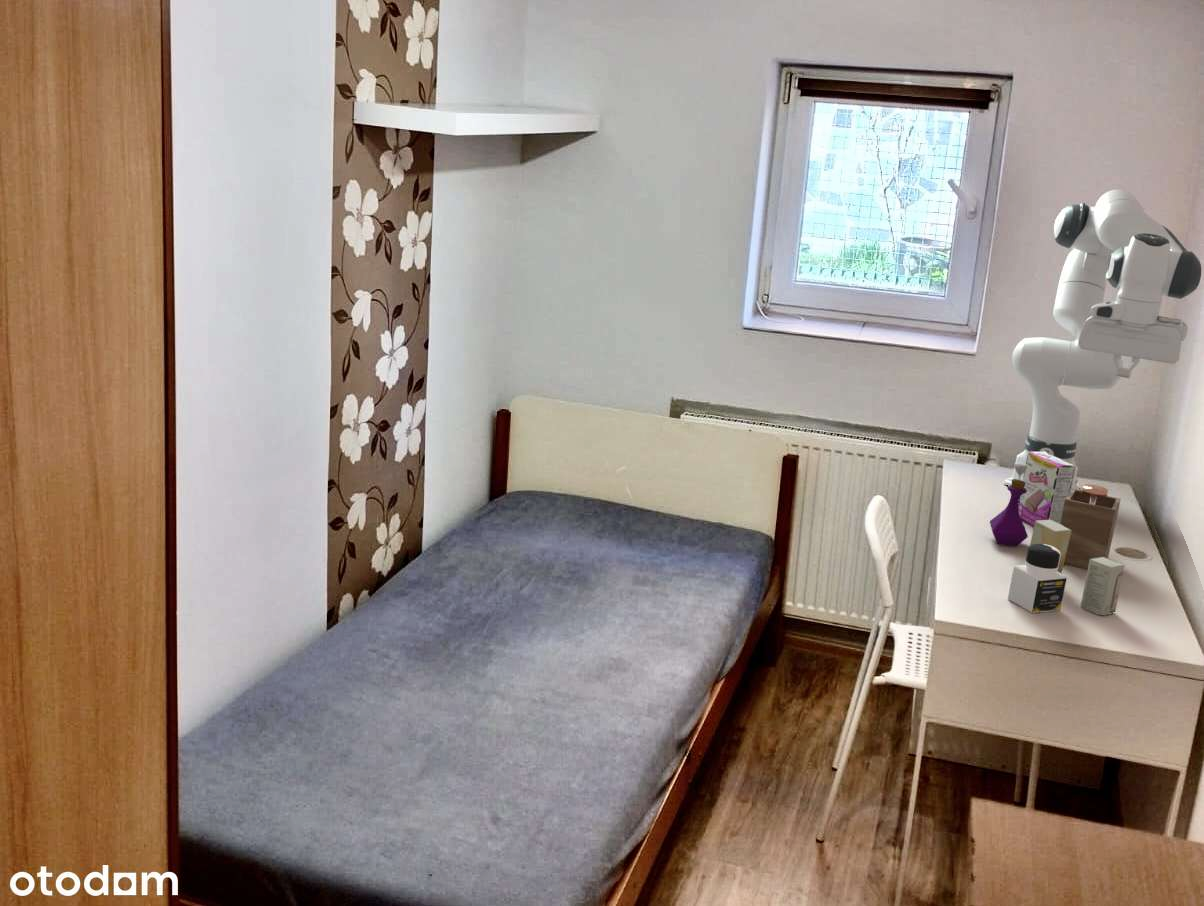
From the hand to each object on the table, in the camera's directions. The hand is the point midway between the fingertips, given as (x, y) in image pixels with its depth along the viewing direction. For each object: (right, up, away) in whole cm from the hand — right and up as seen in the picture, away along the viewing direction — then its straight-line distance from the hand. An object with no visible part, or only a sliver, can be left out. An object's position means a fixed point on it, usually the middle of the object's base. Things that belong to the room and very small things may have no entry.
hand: (1122, 376), depth 268 cm
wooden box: (-8, -39, +2) cm, 40 cm away
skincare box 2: (-15, -47, -25) cm, 55 cm away
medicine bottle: (-28, -46, -25) cm, 59 cm away
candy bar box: (-10, -33, +24) cm, 42 cm away
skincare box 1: (-22, -43, -12) cm, 49 cm away
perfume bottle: (-22, -36, +10) cm, 43 cm away
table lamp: (-8, -36, +1) cm, 37 cm away
